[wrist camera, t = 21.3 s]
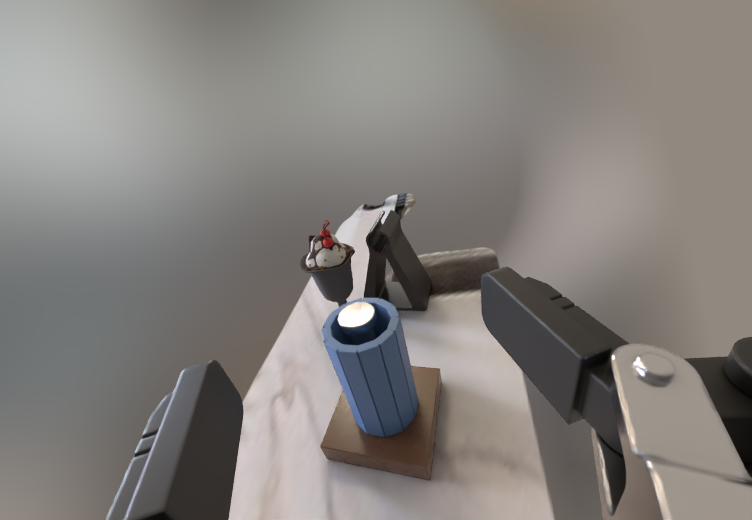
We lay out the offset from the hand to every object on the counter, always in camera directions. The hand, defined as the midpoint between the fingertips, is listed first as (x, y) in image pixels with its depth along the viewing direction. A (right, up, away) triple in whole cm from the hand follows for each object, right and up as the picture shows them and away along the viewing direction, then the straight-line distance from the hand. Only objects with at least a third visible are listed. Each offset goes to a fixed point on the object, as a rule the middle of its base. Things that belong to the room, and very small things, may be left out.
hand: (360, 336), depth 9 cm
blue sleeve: (+1, -11, +19) cm, 22 cm away
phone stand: (+4, -3, +35) cm, 36 cm away
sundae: (-3, -6, +33) cm, 34 cm away
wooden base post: (+2, -12, +20) cm, 23 cm away
